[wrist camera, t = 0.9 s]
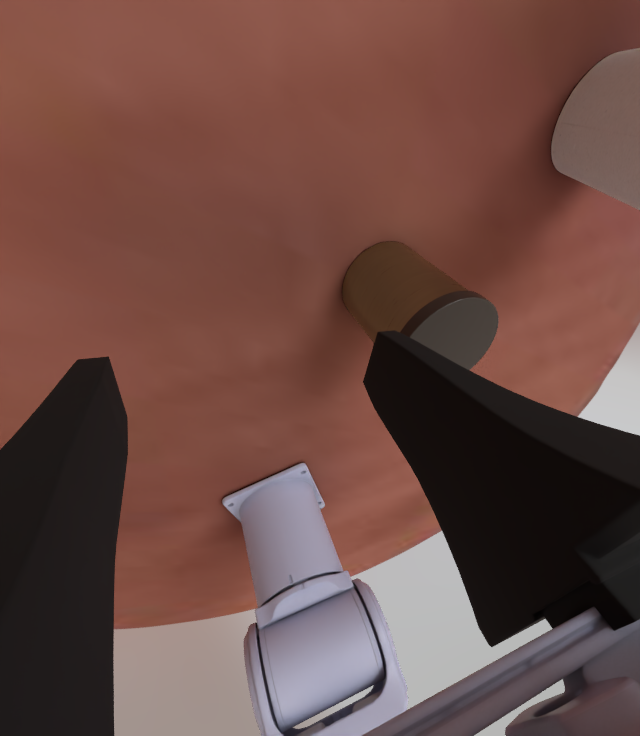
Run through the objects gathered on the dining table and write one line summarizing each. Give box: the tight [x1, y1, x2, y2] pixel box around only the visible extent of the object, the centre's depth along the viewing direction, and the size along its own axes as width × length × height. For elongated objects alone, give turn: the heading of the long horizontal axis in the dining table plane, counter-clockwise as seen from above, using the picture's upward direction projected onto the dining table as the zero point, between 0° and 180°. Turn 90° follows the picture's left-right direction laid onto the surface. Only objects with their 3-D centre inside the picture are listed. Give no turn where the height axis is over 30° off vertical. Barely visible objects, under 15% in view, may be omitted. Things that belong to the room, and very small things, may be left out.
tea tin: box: [342, 241, 498, 370], centre depth 19 cm, size 6×6×7 cm
